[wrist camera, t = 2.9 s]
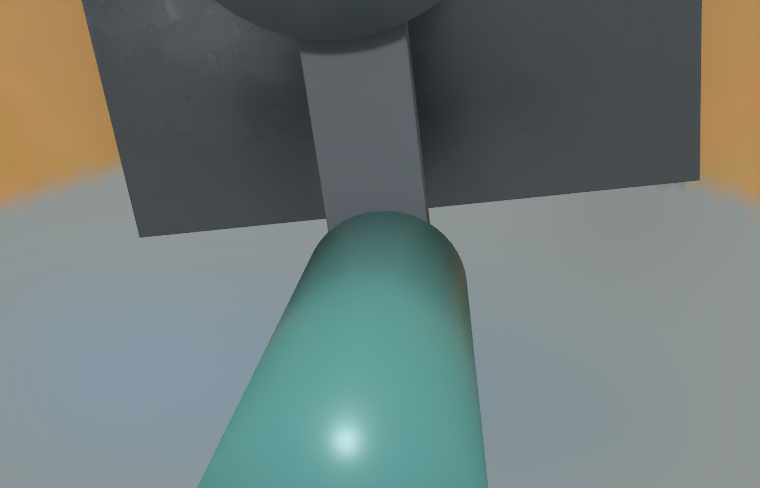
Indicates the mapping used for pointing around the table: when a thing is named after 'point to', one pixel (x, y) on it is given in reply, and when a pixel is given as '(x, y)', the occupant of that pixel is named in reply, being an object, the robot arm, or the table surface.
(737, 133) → the table surface
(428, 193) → the post base
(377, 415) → the crank handle
